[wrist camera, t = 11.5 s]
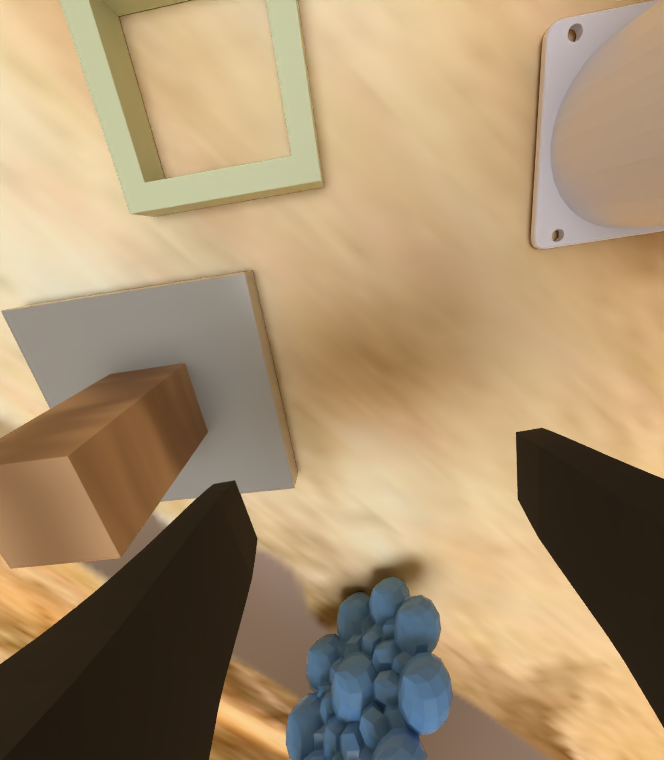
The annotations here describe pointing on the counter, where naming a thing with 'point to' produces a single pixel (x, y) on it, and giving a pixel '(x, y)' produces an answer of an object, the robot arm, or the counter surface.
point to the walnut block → (96, 467)
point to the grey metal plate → (169, 347)
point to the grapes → (373, 681)
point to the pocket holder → (133, 133)
